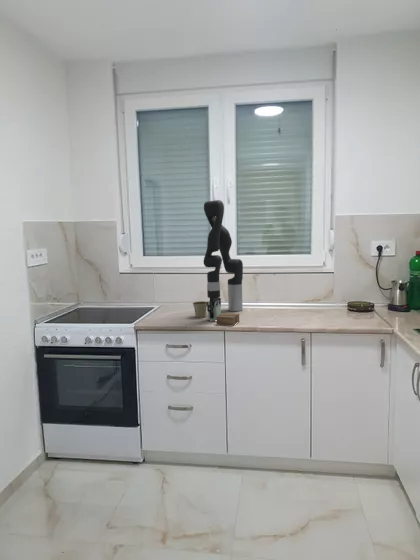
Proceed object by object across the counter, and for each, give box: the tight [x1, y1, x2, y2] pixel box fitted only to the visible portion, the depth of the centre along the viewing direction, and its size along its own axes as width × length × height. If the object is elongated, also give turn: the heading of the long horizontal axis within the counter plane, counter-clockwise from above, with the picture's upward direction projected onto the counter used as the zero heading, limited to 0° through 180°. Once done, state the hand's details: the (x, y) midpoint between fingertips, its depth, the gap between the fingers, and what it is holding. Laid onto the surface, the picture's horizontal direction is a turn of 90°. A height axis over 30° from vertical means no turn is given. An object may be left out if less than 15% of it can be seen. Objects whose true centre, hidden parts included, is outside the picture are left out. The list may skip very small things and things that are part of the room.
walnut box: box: [216, 312, 240, 327], centre depth 237 cm, size 10×10×5 cm
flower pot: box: [192, 300, 207, 318], centre depth 256 cm, size 9×9×9 cm
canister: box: [207, 304, 222, 321], centre depth 246 cm, size 6×6×9 cm
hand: (214, 316), depth 247 cm, fingers open, 7 cm apart
